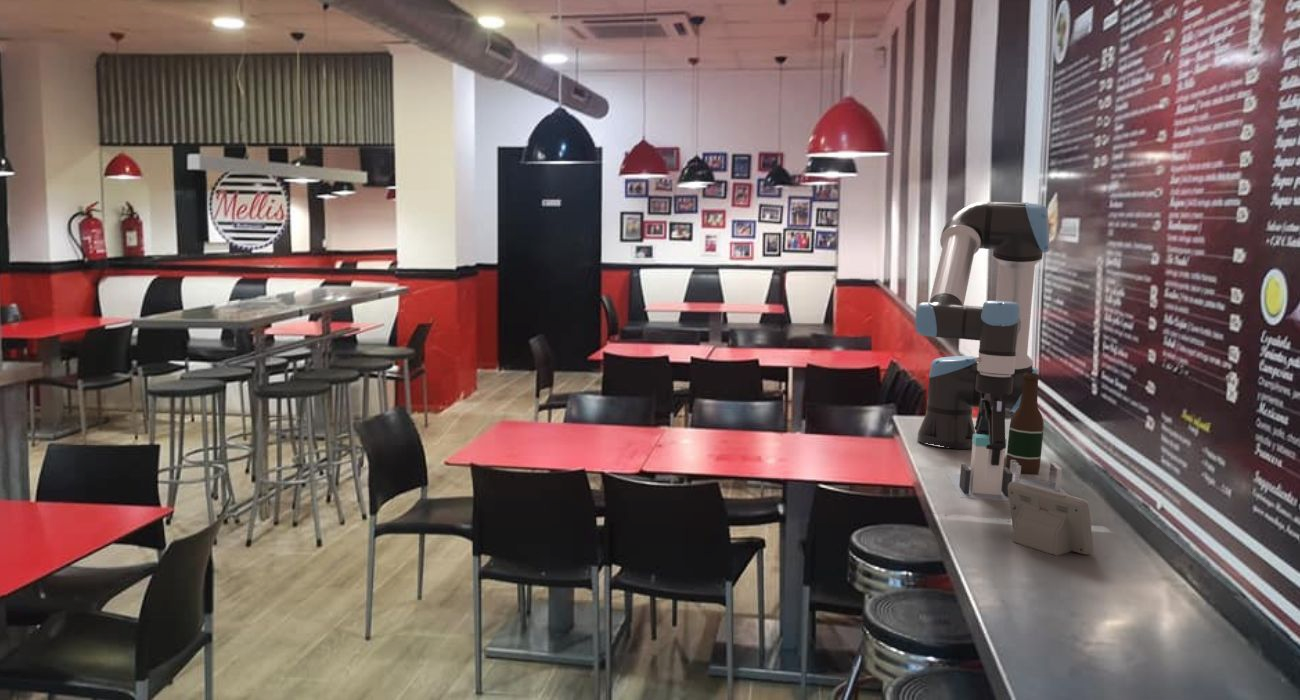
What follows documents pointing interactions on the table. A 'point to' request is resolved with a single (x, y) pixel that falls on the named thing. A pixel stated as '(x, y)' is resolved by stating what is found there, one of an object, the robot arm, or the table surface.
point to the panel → (1037, 483)
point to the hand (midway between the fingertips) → (986, 472)
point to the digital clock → (1049, 520)
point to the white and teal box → (983, 467)
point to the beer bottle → (1026, 429)
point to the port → (1053, 475)
